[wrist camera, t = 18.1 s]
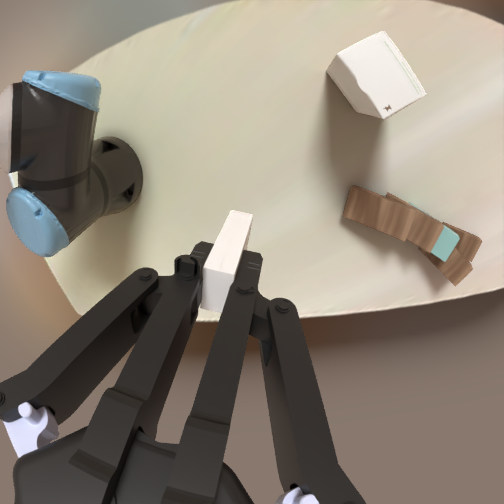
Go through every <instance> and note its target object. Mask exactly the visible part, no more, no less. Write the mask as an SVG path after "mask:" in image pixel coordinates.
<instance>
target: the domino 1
mask: <svg viewBox="0 0 504 504" xmlns="http://www.w3.org/2000/svg"><path fill="white" fill-rule="evenodd" d="M415 214H416V209H414V208H411V207H409V206H407V205H404V204H402V203H399V202H397V201H394V200H392V199H389V198H387V197H384V196H382V195H379V194H377V193H374V192H371V191H369V190H366V189H363V188H360V187H358V186H355V185H353V186H351V188H350V191H349V195H348V199H347V202H346V206H345V209H344V213H343V217H346V218H349V219H351V220H354V221H356V222H359V223H361V224H364V225H366V226H369V227H371V228H374V229H376V230H379V231H381V232H383V233H386V234H388V235H391V236H393V237H395V238H398V239H400V240H402V241H406V238H407V235H408V233H409V230H410V227H411V225H412V222H413V219H414V216H415Z"/></svg>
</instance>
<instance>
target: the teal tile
mask: <svg viewBox="0 0 504 504" xmlns="http://www.w3.org/2000/svg"><path fill="white" fill-rule="evenodd" d="M409 204H410V205H412V206H414V205H413V204H411V203H409ZM414 207H416V206H414ZM416 208H417V209H419V208H418V207H416ZM419 210H421V209H419ZM421 211H422V210H421ZM423 212H424V211H423ZM424 213H425V212H424ZM426 214H427V213H426ZM429 216H430V215H429ZM431 217H432V216H431ZM434 219H435V218H434ZM459 239H460V238H459V236H458V234H456V233H455V232H454V231H452V230H451V229H449V228H448V227H446V226H445V225H444V229H443V231H442V232H441V234H440V236H439V238H438V240H437V242H436V244H435V245H434V247H433V249H432V251H431V253H433V254H434V255H436V256H437V257H438V258H440V259H441V260H443V261H444V262H446V260H447V259H448V257H449V255H450V254H451V252H452V251H453V249H454V247H455V246H456V244H457V243H458V241H459Z"/></svg>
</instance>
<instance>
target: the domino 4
mask: <svg viewBox="0 0 504 504" xmlns="http://www.w3.org/2000/svg"><path fill="white" fill-rule="evenodd" d="M419 250H420V251H421V252H422V253H423V254H424V255H425V256H426V257H427V258H428V259H429V260H430V261H431V262H432V263H433V264H434V265H435V266H436V267H437V268H438V269H439V270H440V271H441V272H442V273H443V274H444V275H445V276H446V277H447V278H448V279H449V280H450V281H451V282H452V284H453V285H454V286H456V285H457V284H458V283H459V282H460V281H461V280H463V279H464V278H465V277H466V276H467V275H468V274H469V273H470V272H471V271H472V270H473V268H472V265H471V263H470V262H469V261H468V260H467V259H466V258H465V256H464V255H463V254H462V253H461V252H460V251H459V250H458V249H457V248H456V247H454V249H453V251H452V252H451V254H450V255H449V257H448V259H447V260H446V262H444V261H443V260H441V259H440V258H438V257H437V256H436V255H434V254H433V253H431V252H430V253H429V252H427V251H426V250H424V249H422V248H421V247H419Z"/></svg>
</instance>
